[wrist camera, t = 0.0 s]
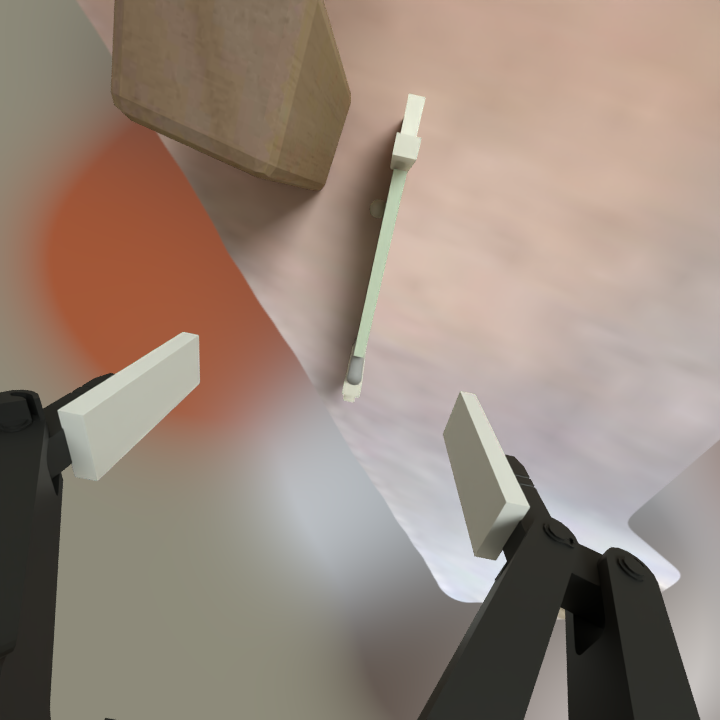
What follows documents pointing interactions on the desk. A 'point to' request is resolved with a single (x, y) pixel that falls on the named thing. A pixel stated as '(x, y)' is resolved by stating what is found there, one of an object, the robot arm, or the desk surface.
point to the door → (380, 254)
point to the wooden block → (235, 81)
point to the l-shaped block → (401, 160)
